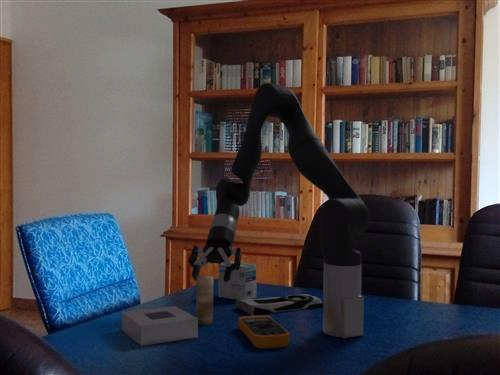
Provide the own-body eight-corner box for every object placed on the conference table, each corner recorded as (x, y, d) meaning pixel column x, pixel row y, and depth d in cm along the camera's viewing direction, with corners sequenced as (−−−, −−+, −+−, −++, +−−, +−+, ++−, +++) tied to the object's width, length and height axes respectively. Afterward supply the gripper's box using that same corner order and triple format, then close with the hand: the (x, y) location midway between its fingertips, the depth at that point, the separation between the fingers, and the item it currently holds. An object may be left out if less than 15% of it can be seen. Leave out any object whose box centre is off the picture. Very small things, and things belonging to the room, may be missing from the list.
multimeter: (255, 351, 122) (256, 336, 122) (236, 329, 139) (237, 315, 139) (292, 348, 124) (292, 333, 124) (269, 327, 141) (269, 313, 141)
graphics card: (235, 299, 159) (307, 291, 170) (235, 310, 159) (307, 302, 170) (251, 306, 150) (326, 298, 161) (251, 319, 150) (326, 309, 162)
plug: (215, 323, 143) (216, 277, 142) (200, 325, 140) (200, 279, 140) (208, 319, 146) (208, 274, 146) (193, 321, 144) (193, 276, 144)
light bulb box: (257, 297, 174) (257, 263, 173) (245, 301, 168) (246, 266, 168) (229, 293, 179) (229, 260, 179) (217, 297, 174) (217, 263, 173)
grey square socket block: (197, 337, 130) (198, 318, 130) (141, 345, 123) (141, 325, 123) (175, 323, 143) (175, 305, 142) (122, 330, 135) (122, 312, 135)
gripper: (195, 223, 158) (181, 270, 147) (244, 225, 154) (233, 273, 143) (201, 240, 163) (188, 286, 152) (248, 242, 160) (237, 289, 149)
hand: (210, 279), depth 148 cm, fingers open, 8 cm apart
